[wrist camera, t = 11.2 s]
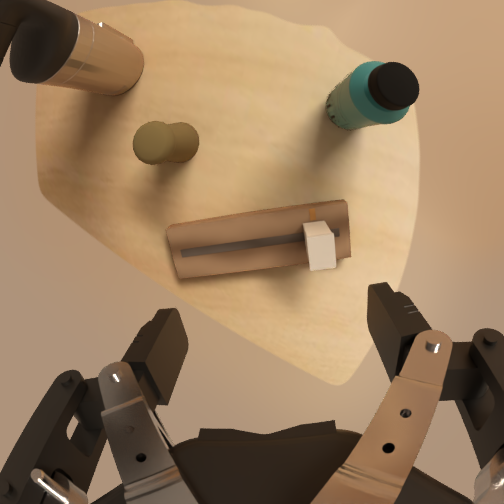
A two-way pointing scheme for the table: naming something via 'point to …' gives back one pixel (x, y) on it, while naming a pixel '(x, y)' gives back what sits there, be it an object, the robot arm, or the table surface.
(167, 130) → the cork
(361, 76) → the beverage bottle
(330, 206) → the console track
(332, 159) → the table surface
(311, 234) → the fader tab
